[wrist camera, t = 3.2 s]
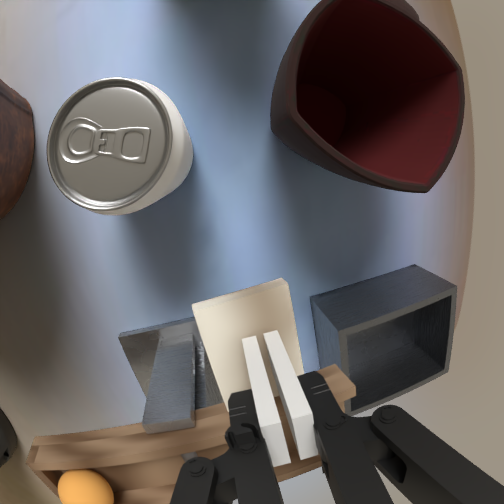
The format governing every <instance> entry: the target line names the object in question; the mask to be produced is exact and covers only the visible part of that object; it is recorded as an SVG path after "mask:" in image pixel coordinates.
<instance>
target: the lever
mask: <svg viewBox="0 0 504 504" xmlns="http://www.w3.org/2000/svg"><path fill="white" fill-rule="evenodd" d="M192 309H193V313H194V316H195V319H196V323H197V326H198V329H199V332H200V335H201V338H202V341H203V344H204V347H205V350H206V353H207V356H208V358H209V361H210V364H211V367H212V370H213V373H214V376H215V378H216V381H217V384H218V387H219V389H220V392H221V395H222V398H223V400H224V403H220V404H217V405H213V406H209V407H206V408H202V409H198V410H195V427H192V428H186V429H179V430H173V431H166V432H159V433H151V434H147V433H146V431H145V430H144V428H143V426H142V422H141V423H136V424H131V425H125V426H119V427H113V428H107V429H101V430H94V431H87V432H79V433H70V434H61V435H51V436H38V437H35V438H34V441H33V443H32V446H31V449H30V452H29V455H28V458H27V460H26V464H27V465H28V466H29V467H30V468H31V469H32V471H33V472H34V473H35V474H36V475H37V476H38V477H39V478H40V479H41V480H42V481H43V482H44V483H45V484H46V486H47V487H48V488H49V489H50V490H51V491H52V492H53V493H54V494H55V495H57V496H58V497H59V494H58V482H59V480H60V478H61V476H62V475H63V474H64V473H65V472H66V471H68V470H70V469H85V468H87V469H90V470H93V471H95V472H97V473H98V474H100V475H101V476H102V477H104V478H105V479H106V481H107V482H108V483H109V485H110V486H111V488H112V491H113V495H114V503H113V504H170V501H171V497H172V494H173V491H174V488H175V485H176V481H177V478H178V475H179V472H180V469H181V467H182V465H183V464H184V463H185V462H186V461H187V460H189V459H192V458H194V457H205V458H208V459H210V460H212V459H214V458H216V457H219V456H221V455H222V454H224V453H225V452H226V451H227V450H228V449H229V446H228V444H227V442H226V440H225V432H226V430H227V429H228V428H229V427H230V419H229V409H228V399H229V397H230V395H231V393H234V392H239V391H243V390H248V389H252V388H251V383H250V378H249V373H248V368H247V363H246V358H245V353H244V348H243V343H242V339H244V338H248V337H252V336H256V338H257V342H258V345H259V349H260V352H261V356H262V359H263V363H264V366H265V370H266V373H267V377H268V380H269V384H270V387H271V390H272V394H273V397H274V401H275V404H276V407H277V411H278V414H279V418H280V421H281V425H282V429H283V433H284V437H285V441H286V445H287V449H288V453H289V456H290V460H291V463H288V464H284V465H280V466H276V467H273V468H274V472H275V475H276V478H277V481H278V482H281V481H284V480H287V479H290V478H293V477H295V476H298V475H301V474H303V473H306V472H309V471H311V470H314V469H316V468H318V467H321V466H322V463H321V457H320V454H319V452H318V455H316V456H313V457H310V458H306V459H303V460H301V459H300V456H299V453H298V450H297V447H296V444H295V441H294V438H293V435H292V432H291V429H290V426H289V423H288V420H287V417H286V414H285V411H284V407H283V404H282V401H281V398H280V395H279V392H278V389H277V386H276V382H275V379H274V376H273V373H272V369H271V365H270V360H269V356H268V352H267V348H266V343H265V339H264V335H263V334H264V333H268V332H271V331H275V330H277V331H278V333H279V335H280V338H281V340H282V342H283V345H284V347H285V350H286V352H287V354H288V357H289V359H290V361H291V364H292V366H293V368H294V371H295V373H296V376H299V375H303V374H304V370H303V364H302V358H301V353H300V347H299V341H298V335H297V330H296V324H295V318H294V313H293V307H292V302H291V296H290V291H289V286H288V283H287V282H286V281H285V280H284V279H282V278H279V279H276V280H273V281H269V282H266V283H263V284H259V285H256V286H253V287H249V288H246V289H243V290H239V291H236V292H232V293H229V294H225V295H222V296H219V297H215V298H212V299H208V300H205V301H201V302H197V303H194V304H192ZM316 372H318V373H319V374H321V375H323V377H324V379H325V381H326V382H327V384H328V386H329V388H330V390H331V392H332V393H333V395H334V397H335V399H336V401H337V403H338V405H339V406H340V408H341V410H342V411H343V412H344V413H345V408H344V401H345V400H348V399H350V398H352V397H354V396H356V386H355V385H354V384H353V383H352V382H351V381H350V380H349V378H348V377H347V376H346V375H345V374H344V373H343V372H342V371H341V370H340V369H339V367H338V366H337V365H336V364H333V365H330V366H328V367H326V368H323V369H320V370H318V371H316ZM59 498H60V497H59Z"/></svg>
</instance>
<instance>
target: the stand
mask: <svg viewBox="0 0 504 504" xmlns="http://www.w3.org/2000/svg"><path fill="white" fill-rule="evenodd" d="M118 338H119V341H120V343H121V345H122V347H123V350H124V352H125V354H126V356H127V359H128V361H129V363H130V365H131V367H132V369H133V371H134V374H135V376H136V378H137V380H138V382H139V384H140V386H141V388H142V390H143V392H144V394H145V396H146V398H147V399H146V405H145V410H144V415H143V421H142V426H143V428H144V430H145V431H146V433H147V434H151V433H159V432H166V431H173V430H179V429H186V428H192V427H195V410H198V409H202V408H206V407H209V406H213V405H217V404H220V403H224V400H223V398H222V395H221V392H220V389H219V387H218V384H217V381H216V378H215V376H214V373H213V370H212V367H211V364H210V361H209V358H208V356H207V353H206V350H205V347H204V344H203V341H202V338H201V335H200V332H199V329H198V326H197V323H196V319H195V317H191V318H187V319H183V320H178V321H174V322H170V323H165V324H161V325H156V326H151V327H147V328H142V329H137V330H133V331H128V332H123V333H120V335H119V337H118Z"/></svg>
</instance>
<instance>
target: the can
mask: <svg viewBox="0 0 504 504" xmlns="http://www.w3.org/2000/svg"><path fill="white" fill-rule="evenodd" d="M47 161H48V166H49V170H50V173H51V176H52V178H53V180H54V182H55V184H56V185H57V187H58V188H59V190H60V191H61V192H62V193H63V194H64V195H65V196H66V197H67V198H68V199H69V200H70V201H72V202H73V203H75V204H77V205H79V206H81V207H83V208H86V209H88V210H90V211H92V212H95V213H98V214H103V215H124V214H129V213H133V212H136V211H139V210H141V209H143V208H145V207H147V206H149V205H151V204H153V203H155V202H156V201H158V200H159V199H161V198H163V197H164V196H166V195H168V194H169V193H171V192H172V191H174V190H175V189H176V188H177V187H178V186H179V185H180V184H181V183H182V182H183V181H184V180H185V178H186V177H187V175H188V173H189V171H190V168H191V165H192V161H193V146H192V142H191V139H190V136H189V133H188V131H187V128H186V126H185V124H184V121H183V119H182V117H181V115H180V113H179V111H178V109H177V108H176V106H175V105H174V103H173V102H172V101H171V99H170V98H169V97H168V96H167V95H166V94H165V93H164V92H162V91H161V90H160V89H158V88H157V87H155V86H153V85H151V84H149V83H147V82H144V81H141V80H136V79H128V78H120V77H112V78H105V79H100V80H97V81H94V82H92V83H89V84H87V85H85V86H84V87H82V88H80V89H79V90H78V91H76V92H75V93H74V94H73V95H71V96H70V97H69V98H68V99H67V100H66V102H65V103H64V104H63V105H62V107H61V108H60V109H59V111H58V113H57V114H56V116H55V118H54V120H53V123H52V125H51V128H50V131H49V135H48V141H47Z"/></svg>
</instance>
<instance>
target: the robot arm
mask: <svg viewBox="0 0 504 504" xmlns="http://www.w3.org/2000/svg"><path fill="white" fill-rule="evenodd" d="M263 335H264V339H265V343H266V348H267V352H268V356H269V360H270V365H271V369H272V373H273V376H274V379H275V382H276V386H277V389H278V392H279V395H280V398H281V401H282V404H283V407H284V411H285V414H286V417H287V420H288V423H289V426H290V429H291V432H292V435H293V438H294V441H295V444H296V447H297V450H298V453H299V456H300V459H301V460H303V459H306V458H310V457H313V456H316V455H318V452H319V454H320V457H321V463H322V470H323V473H325V475H326V478H327V481H328V483H329V486H330V489H331V492H332V495H333V498H334V500H335V503H336V504H394V503H393V501H392V499H391V497H390V495H389V493H388V491H387V489H386V487H385V485H384V483H383V482H382V479H381V477H380V475H379V474H378V472H377V470H376V468H375V466H376V467H377V468H378V469H379V470H380V471H381V472H382V473H383V475H385V477H386V478H388V479H389V481H390V482H391V483H392V484H394V486H395V487H396V488H397V489H398V490H399V491H400V492H401V493H402V494H403V495H404V496H405V497H407V498H408V500H410V501H411V502H412V503H413V504H504V486H503V485H501V484H500V483H498V482H497V481H496V480H494V479H493V478H492V477H490V476H489V475H487V474H486V473H485V472H483V471H482V470H481V469H480V468H478V467H477V466H476V465H474V464H473V463H471V462H470V461H469V460H467V459H466V458H465V457H464V456H462V455H461V454H459V453H458V452H457V451H456V450H455V449H453V448H452V447H451V446H449V445H448V444H447V443H445V442H444V441H443V440H441V439H440V438H439V437H438V436H436V435H435V434H434V433H432V432H431V431H430V430H429V429H427V428H426V427H425V426H423V425H422V424H421V423H420V422H418V421H417V420H416V419H415V418H413V417H412V416H411V415H409V414H408V413H407V412H406V411H404V410H403V409H402V408H400V407H398V406H395V405H385V406H382V407H379V408H378V409H377V410H375V411H374V412H373V415H372V416H368V417H351V416H349V415H347V414H345V413H344V412H343V411H342V410H341V408H340V406H339V405H338V403H337V401H336V399H335V397H334V395H333V393H332V392H331V390H330V388H329V386H328V384H327V382H326V381H325V379H324V377H323V375H321V374H319V373H318V372H316V371H313V372H309V373H306V374H303V375H299V376H296V373H295V371H294V368H293V366H292V364H291V361H290V359H289V357H288V354H287V352H286V350H285V347H284V345H283V342H282V340H281V338H280V335H279V333H278V331H277V330H275V331H271V332H268V333H264V334H263ZM242 343H243V348H244V353H245V358H246V363H247V368H248V373H249V378H250V383H251V388H252V389H248V390H243V391H239V392H234V393H231V395H230V397H229V399H228V409H229V419H230V427H229V428H228V429H227V430H226V432H225V440H226V442H227V444H228V446H229V449H228V450H227V451H226V452H225V453H224V454H222V455H221V456H219V457H216V458H214V459H212V460H210V459H208V458H205V457H194V458H192V459H189V460H187V461H186V462H185V463H184V464H183V465H182V467H181V469H180V472H179V475H178V478H177V481H176V485H175V488H174V491H173V494H172V497H171V501H170V504H232V503H233V500H235V499H238V503H239V504H284V502H283V499H282V495H281V492H280V488H279V485H278V481H277V478H276V475H275V472H274V468H273V467H276V466H280V465H284V464H288V463H291V460H290V456H289V453H288V449H287V445H286V441H285V437H284V433H283V429H282V425H281V421H280V418H279V414H278V411H277V407H276V404H275V401H274V397H273V394H272V390H271V387H270V384H269V380H268V377H267V373H266V370H265V366H264V363H263V359H262V356H261V352H260V349H259V345H258V342H257V338H256V336H252V337H248V338H244V339H242ZM16 446H17V439H16V435H15V433H14V430H13V428H12V426H11V424H10V423H9V421H8V419H7V418H6V416H5V415H4V414H3V412H2V411H1V410H0V467H1V466H2V465H4V464H5V463H6V462H7V461H8V460H9V459H10V458H11V457H12V455H13V453H14V451H15V449H16ZM374 465H375V466H374Z"/></svg>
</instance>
